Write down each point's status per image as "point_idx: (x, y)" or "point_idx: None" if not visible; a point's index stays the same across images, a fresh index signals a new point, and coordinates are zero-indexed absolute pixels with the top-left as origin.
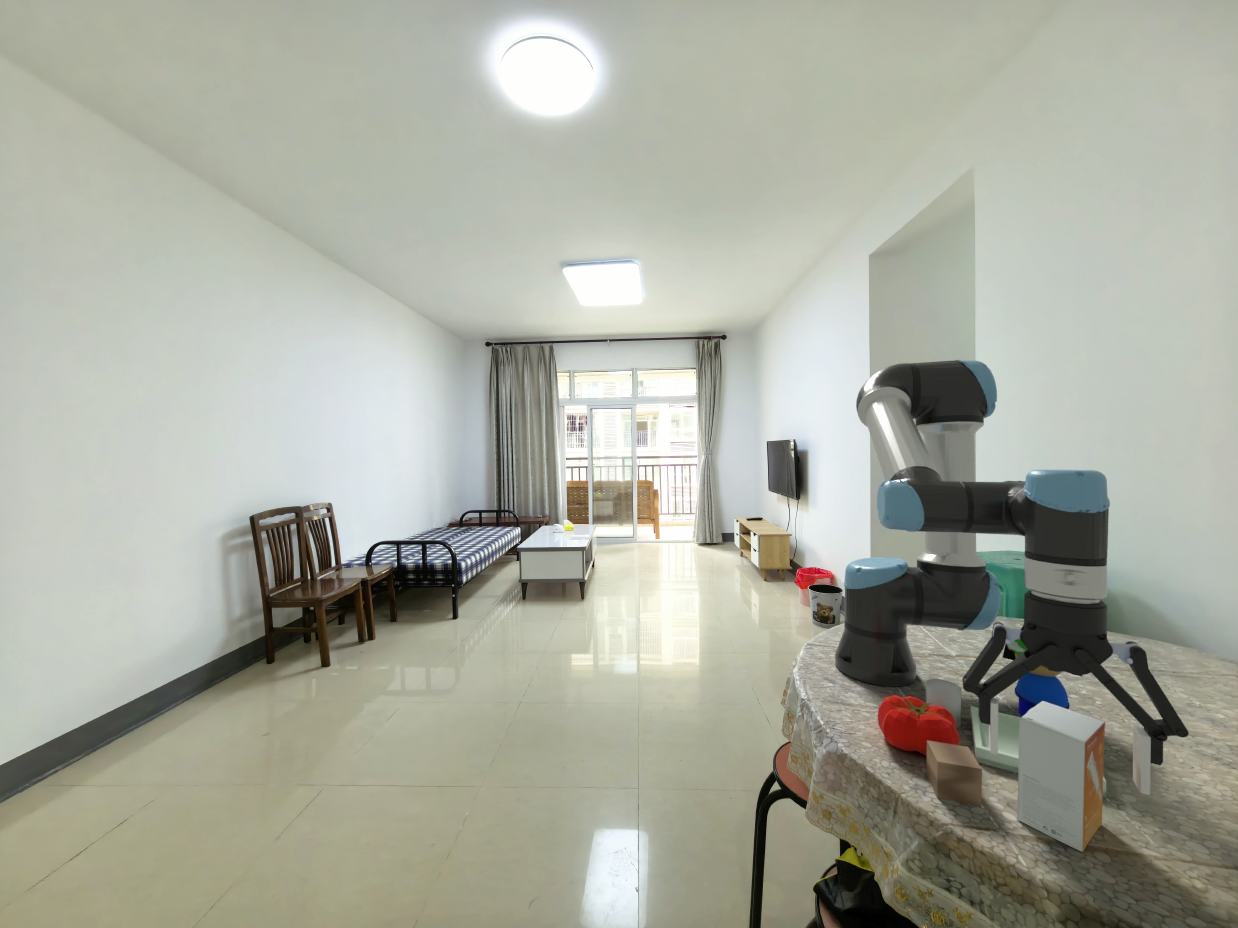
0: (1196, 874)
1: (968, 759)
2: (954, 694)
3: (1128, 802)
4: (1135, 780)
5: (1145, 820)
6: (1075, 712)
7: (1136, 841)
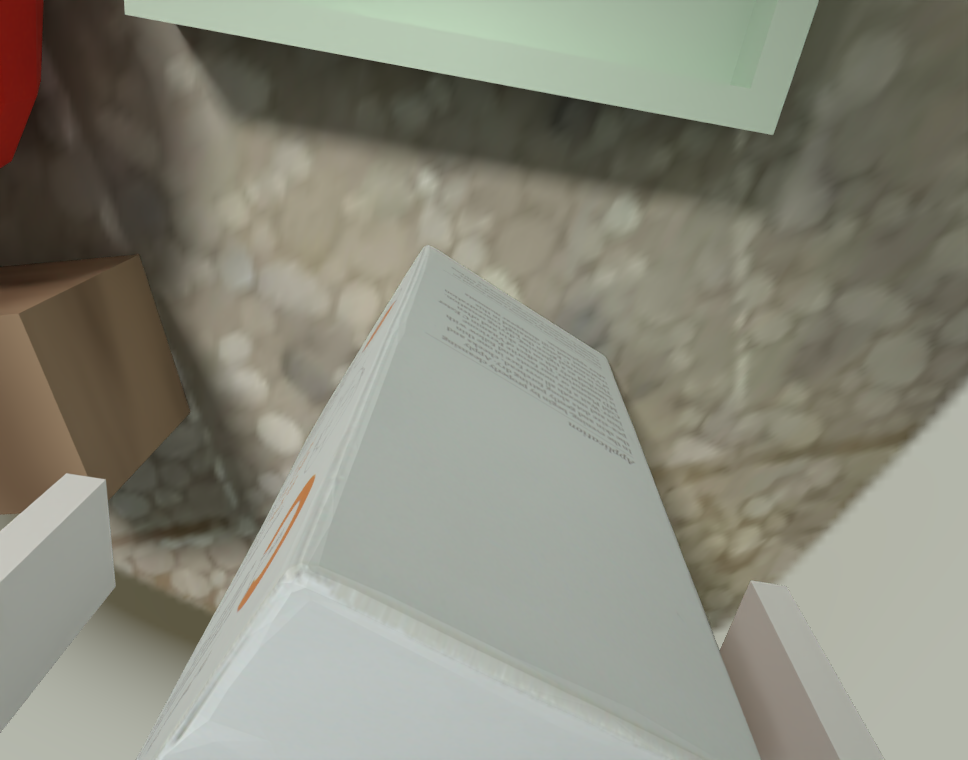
0: (773, 505)
1: (36, 450)
2: None
3: (833, 122)
4: (742, 629)
5: (812, 254)
6: (573, 735)
7: (681, 411)
